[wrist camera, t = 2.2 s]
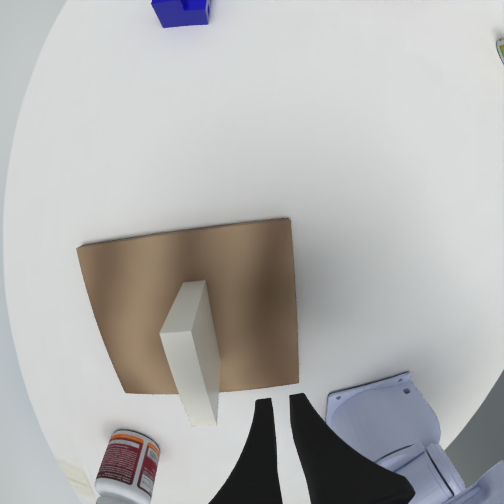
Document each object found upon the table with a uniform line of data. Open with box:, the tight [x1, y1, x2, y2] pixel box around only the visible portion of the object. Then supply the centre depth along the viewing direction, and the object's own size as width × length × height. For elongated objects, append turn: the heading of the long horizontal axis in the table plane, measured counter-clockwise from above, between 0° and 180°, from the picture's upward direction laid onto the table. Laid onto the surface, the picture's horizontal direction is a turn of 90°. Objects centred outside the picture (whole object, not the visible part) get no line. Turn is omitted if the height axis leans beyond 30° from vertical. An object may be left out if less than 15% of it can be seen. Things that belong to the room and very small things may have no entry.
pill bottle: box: [95, 430, 160, 504], centre depth 20 cm, size 6×6×11 cm
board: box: [76, 218, 299, 394], centre depth 21 cm, size 16×14×1 cm
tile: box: [159, 280, 221, 426], centre depth 17 cm, size 2×7×7 cm, turn 6°
